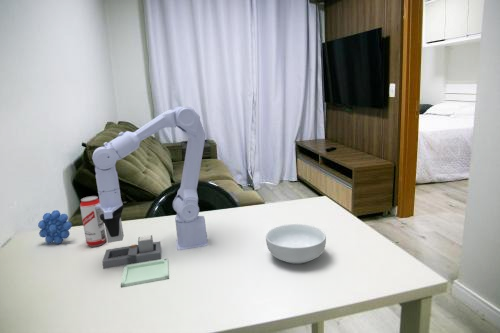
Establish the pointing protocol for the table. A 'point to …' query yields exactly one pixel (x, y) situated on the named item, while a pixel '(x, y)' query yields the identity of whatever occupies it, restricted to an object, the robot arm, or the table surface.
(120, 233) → the plug
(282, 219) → the table surface
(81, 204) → the beer can
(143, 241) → the twin plug
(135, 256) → the grey double window frame
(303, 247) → the cereal bowl
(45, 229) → the blue lumpy cluster
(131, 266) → the tray
